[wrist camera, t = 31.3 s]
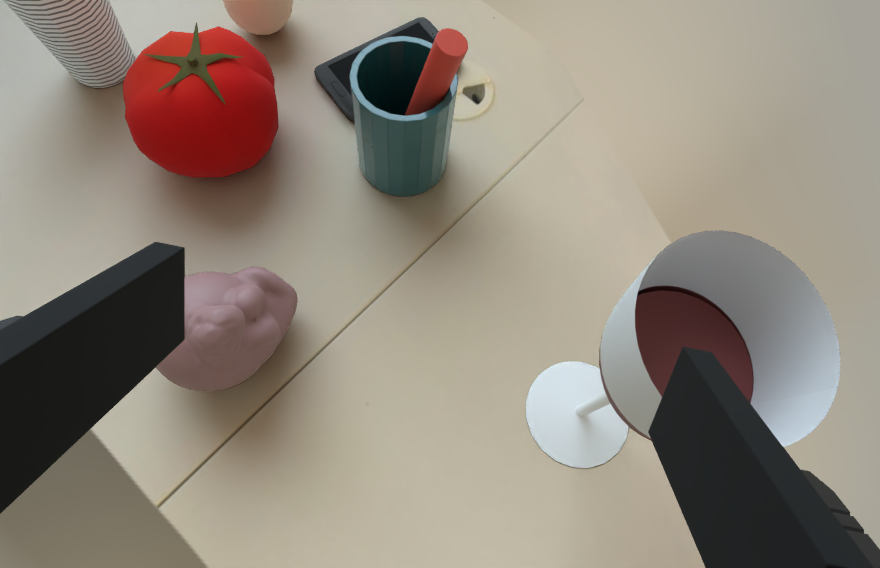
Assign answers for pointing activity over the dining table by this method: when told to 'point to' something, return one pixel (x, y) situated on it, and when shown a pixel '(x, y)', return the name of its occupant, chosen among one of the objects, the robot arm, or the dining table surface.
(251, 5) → the egg
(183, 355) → the figurine
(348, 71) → the cell phone
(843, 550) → the robot arm
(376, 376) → the dining table surface
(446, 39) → the red round dowel
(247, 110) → the tomato
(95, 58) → the cup
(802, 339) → the wineglass
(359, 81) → the teal pencil holder
